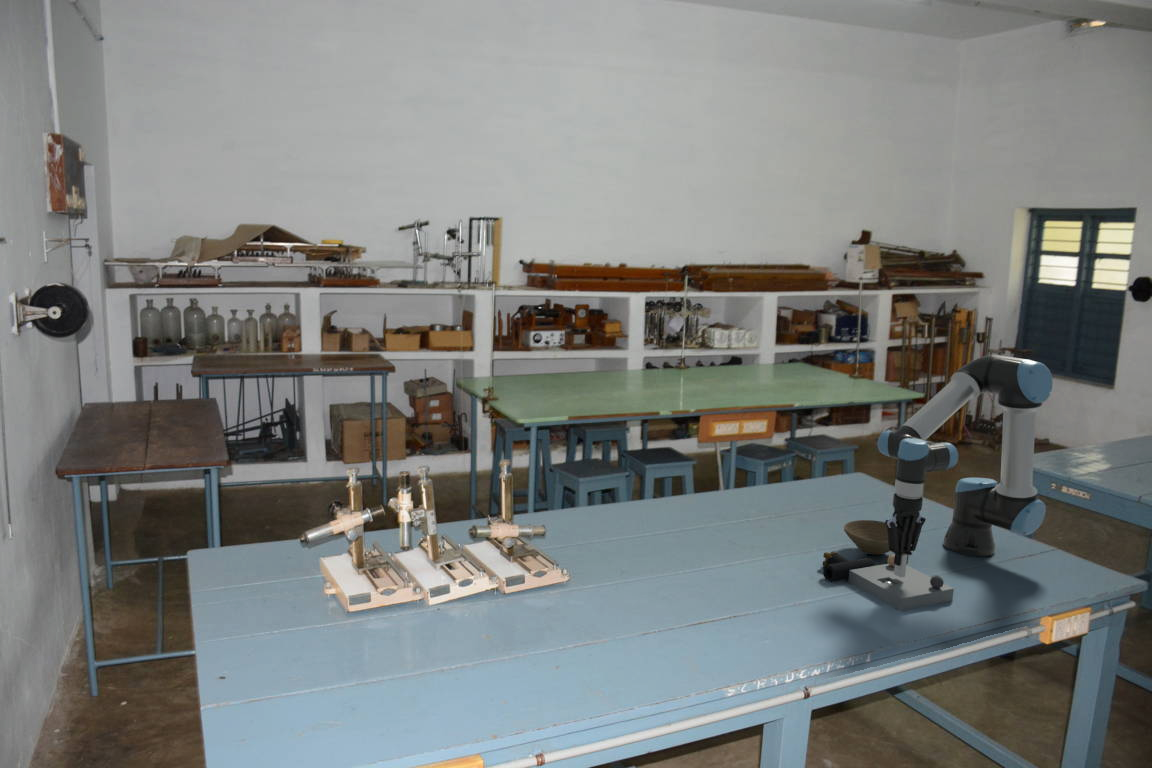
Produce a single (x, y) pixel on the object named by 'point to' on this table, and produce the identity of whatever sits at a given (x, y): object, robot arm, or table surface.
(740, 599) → the table surface
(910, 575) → the slate board
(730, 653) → the table surface
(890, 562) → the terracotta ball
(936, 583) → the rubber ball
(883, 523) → the bowl
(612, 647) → the table surface
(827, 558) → the pipe connector
